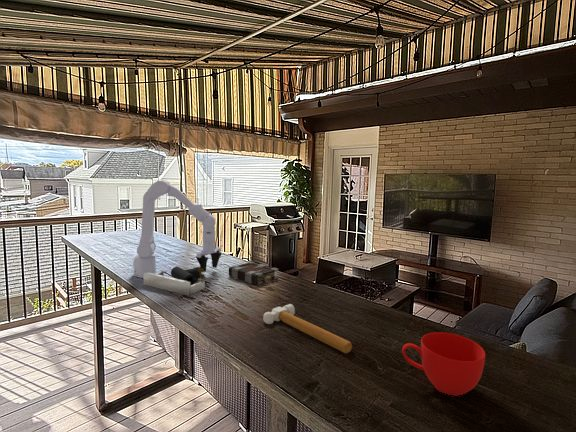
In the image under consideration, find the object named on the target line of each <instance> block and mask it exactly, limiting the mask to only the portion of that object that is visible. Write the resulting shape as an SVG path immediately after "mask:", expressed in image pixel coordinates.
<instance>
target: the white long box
mask: <svg viewBox="0 0 576 432" xmlns="http://www.w3.org/2000/svg"><path fill="white" fill-rule="evenodd" d="M164 274H167V270H161V271H159V272H156V274H154V273H149V272H144V273H143V276H144V278H143V285H145V286H149V287H154V288H157V289H161V290H164V291H169V292H173V293H176V294H181V295H183V296H187V297H188V296H190V295H192V294H195V293H197V292H200V291H201V290H204V289H206V281H205V280H204V278H201V279H197V281H198V282H195V283H194V284H193V285H191V286H190V282H188V281H184V280H180V279H175V278H174V277H172V276H171V277H170V276H167V275H164Z"/></svg>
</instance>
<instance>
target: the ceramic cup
mask: <svg viewBox="0 0 576 432" xmlns="http://www.w3.org/2000/svg"><path fill="white" fill-rule="evenodd" d="M408 348H411V349H415V350H416V351H417V352H418V353H419V355H420V358H421V364H420V363H418V362H415V361H414V360H412V358H409V357H408V355H407V353H406V350H407V349H408ZM401 352H402V356H403V358H404V359H405V361H406V362H407V363H409V364H410V365H412V366H413V367H415V368H417V369H419V370H422V371H424V374H425V376H426V377H427V379H428V380H429V382H430V383H431V384H432V386H433V385H434V386H433V387H434V388H435V390H437V391H438V392H439V393H441V392H442V393H441V394H443V393H445V394H444V395H446V394H448V395H447V396H449V395H454V396H458V395H462V396H463V394H464V395H465V394H467V393H468V392H470V391H472V390H473V389H475V387H476V386H477V385H478V383H479V382H480V380H481V378H482V375H483V372H484V367H485V362H486V352H485V350H484V348H483V347H482V346H481V345H480V344H478V343H477V342H475V341H473V340H472V339H469V338H467V337H465V336H461V335H458V334H455V333H449V332H439V331H438V332H430V333H426V334H424V335H423V336H422V337H421V340H420V346H418V345H416V344H414V343H410V342H408V343H405V344H404V345H403V346H402V348H401ZM454 396H453V397H454ZM458 397H459V396H458Z"/></svg>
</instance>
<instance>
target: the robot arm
mask: <svg viewBox="0 0 576 432" xmlns="http://www.w3.org/2000/svg"><path fill="white" fill-rule="evenodd" d="M166 194H167V196H168V197H173V198H175V200H177V201H179V202H180V203H181V204H183V205H184V206H185V207H186V208H187V209H188V213H189V214H190V215H191V216H193V218H194V219H196V220H197V221H198V222H200V223H201V225H202V250H200V251H198V252H196V256H195V257H196V258H195V259H196V261H197V262H198V264H199V267H201V268H203V269H204V272H203V273H205V272H206V271H207V263H208V259H209V257H207V256H209V255H210V257H211V267H212V268H215V269H216V268H217V267H218V264H219V261H220V258H221V256H222V252H221V251H222V248H221V247H220V246H217V247H216V218H215V216H214V214H211V212H210V211H207V209H205V208H204V207H203V205H202V204H201V203H200V204H199V203H198V202H196V203H195V202H193V201H192V200H190V199H189V198H188V196H186V195H185V194H184V193H183V192H182V191H181V190H180V189H179V188H178V187H176V186H175V185H174V184H171V183H170V182H169V180H166V179H161V180H157V181H155V182H153V183H152V184H151V185H150V186H149V188H148V189H147V191H146V192H145V193H144V194H143V197H142V213H141V214H142V215H141V216H142V217H141V232H140V233H141V235H140V238H139V244H138V247H137V248H136V253H137V256H135V257H134V259H133V274H131V275H132V276H133V277H137V278H141V279H144V276H143V273H144V272H149V273H154V274H156V273H157V268H156V267H157V266H156V260H157V259H156V254H155V250H156V248H157V246H156V243H155V238H154V237H155V236H154V230H155V229H154V226H155V225H154V224H155V223H154V222H155V207H156V201H157V200H158V199H159V198H160V197H161V196H164V195H166Z"/></svg>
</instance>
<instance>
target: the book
mask: <svg viewBox="0 0 576 432" xmlns="http://www.w3.org/2000/svg"><path fill="white" fill-rule="evenodd" d="M276 272H279V268H277V267H272V266H271V267H270V266H268V265H267V264H263V263H256V262H255V261H247V262H245V263H241V264H238V265H236V264H235V265H232V266H230V267H228V276H229V277H230V278H232V279H235V280H240V281H243V282H245V283H247V284H249V285H250V284H251V285H255V286H257V285H261V284H263V283H267V284H268V283H271V284H274V283H275V281H274V280H276V279H278V278H279V275H277V274H275V273H276Z"/></svg>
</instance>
